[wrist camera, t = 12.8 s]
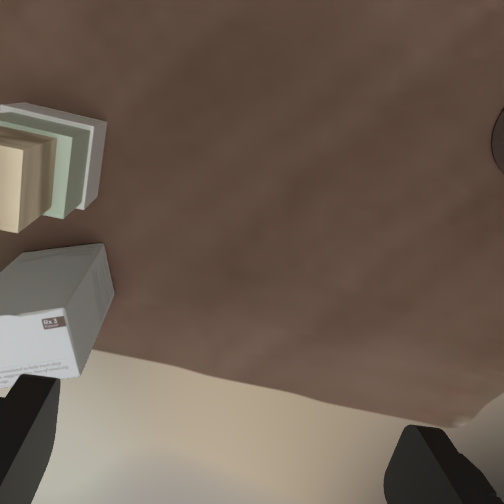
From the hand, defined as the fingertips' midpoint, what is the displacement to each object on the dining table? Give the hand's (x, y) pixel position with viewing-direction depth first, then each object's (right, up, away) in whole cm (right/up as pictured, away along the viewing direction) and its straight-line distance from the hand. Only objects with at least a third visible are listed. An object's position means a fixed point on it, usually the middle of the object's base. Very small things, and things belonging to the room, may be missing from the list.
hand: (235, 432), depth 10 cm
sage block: (-16, +12, +26) cm, 32 cm away
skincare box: (-18, +2, +34) cm, 39 cm away
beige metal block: (-16, +10, +21) cm, 28 cm away
